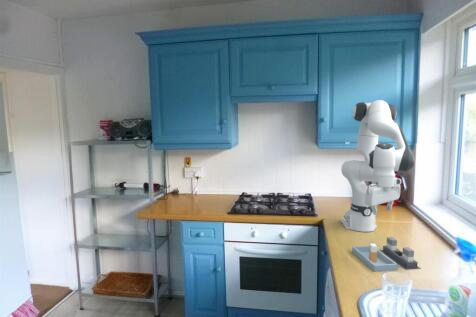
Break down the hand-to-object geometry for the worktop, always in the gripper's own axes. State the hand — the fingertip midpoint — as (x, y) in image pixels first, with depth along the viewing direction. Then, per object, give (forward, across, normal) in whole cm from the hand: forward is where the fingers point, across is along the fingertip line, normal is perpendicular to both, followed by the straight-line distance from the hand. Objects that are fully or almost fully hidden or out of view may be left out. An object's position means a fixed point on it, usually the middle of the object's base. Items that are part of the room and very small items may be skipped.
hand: (382, 212), depth 142 cm
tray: (+22, -5, 0) cm, 23 cm away
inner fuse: (+21, +8, 0) cm, 23 cm away
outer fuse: (+21, +3, -11) cm, 24 cm away
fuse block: (+22, +6, -5) cm, 24 cm away
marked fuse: (+21, -5, 0) cm, 22 cm away
